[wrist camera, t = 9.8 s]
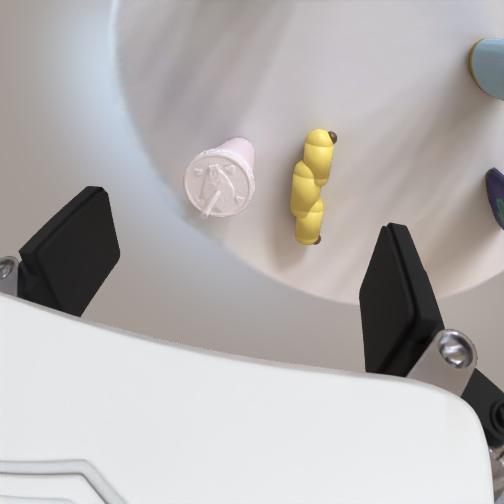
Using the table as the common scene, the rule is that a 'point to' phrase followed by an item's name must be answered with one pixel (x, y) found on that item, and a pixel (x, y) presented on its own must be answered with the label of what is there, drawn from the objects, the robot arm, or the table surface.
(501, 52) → the bottle
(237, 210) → the smoothie
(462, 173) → the table surface
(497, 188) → the flask
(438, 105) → the table surface
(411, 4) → the table surface
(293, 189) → the yellow lumpy bar
